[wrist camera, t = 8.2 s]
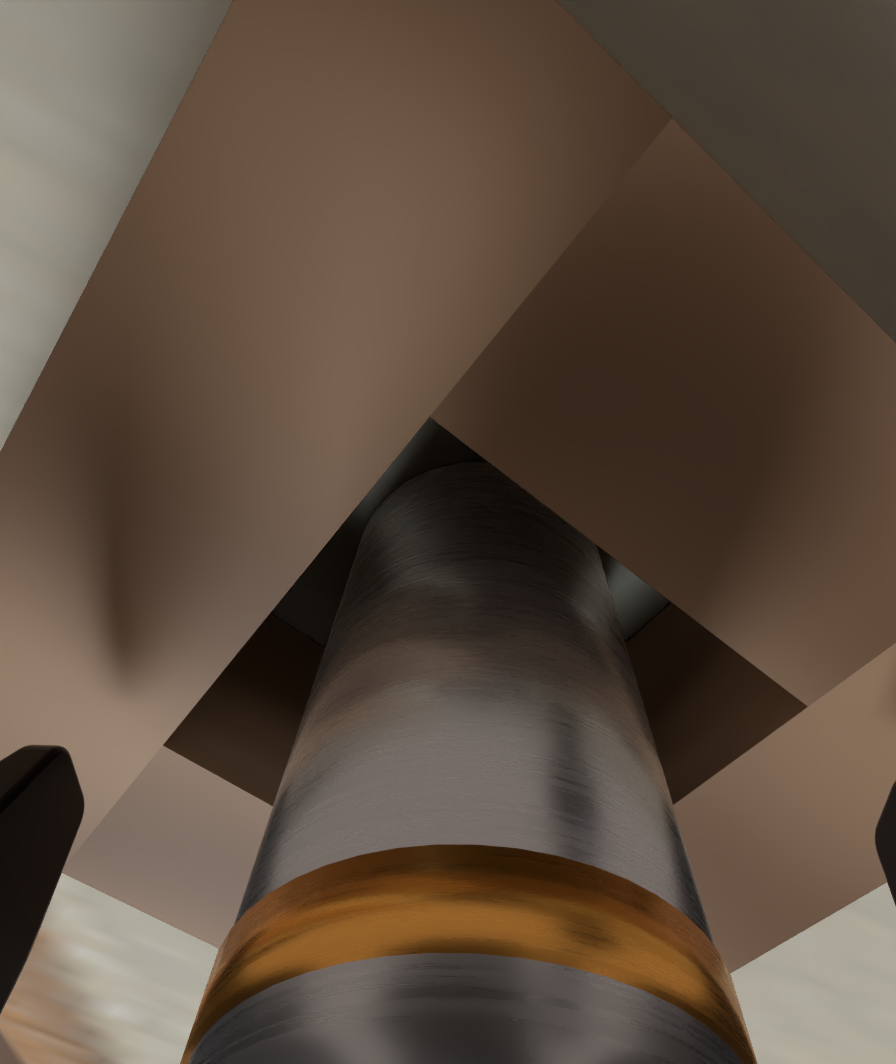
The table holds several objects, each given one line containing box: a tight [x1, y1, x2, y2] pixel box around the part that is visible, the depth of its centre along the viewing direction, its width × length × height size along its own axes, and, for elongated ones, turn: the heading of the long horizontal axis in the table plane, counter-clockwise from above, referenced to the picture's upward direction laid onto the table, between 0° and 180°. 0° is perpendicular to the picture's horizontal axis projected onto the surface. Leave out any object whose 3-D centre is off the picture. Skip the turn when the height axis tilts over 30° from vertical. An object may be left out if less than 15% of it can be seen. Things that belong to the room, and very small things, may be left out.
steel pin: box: [180, 462, 757, 1064], centre depth 8 cm, size 4×4×8 cm
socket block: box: [0, 0, 896, 973], centre depth 10 cm, size 12×12×4 cm
